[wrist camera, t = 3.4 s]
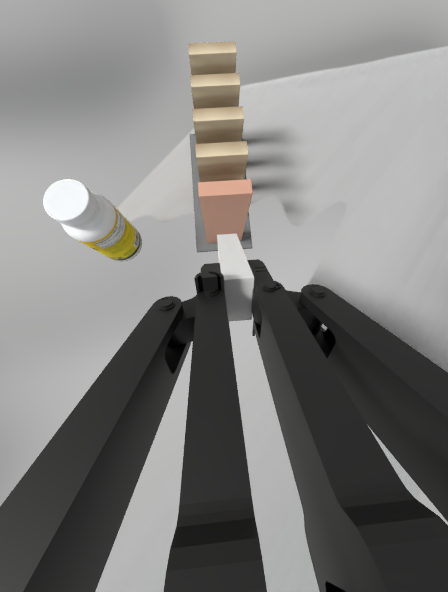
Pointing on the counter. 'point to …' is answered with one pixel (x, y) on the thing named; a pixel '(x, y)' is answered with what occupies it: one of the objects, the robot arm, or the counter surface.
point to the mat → (199, 224)
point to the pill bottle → (92, 220)
